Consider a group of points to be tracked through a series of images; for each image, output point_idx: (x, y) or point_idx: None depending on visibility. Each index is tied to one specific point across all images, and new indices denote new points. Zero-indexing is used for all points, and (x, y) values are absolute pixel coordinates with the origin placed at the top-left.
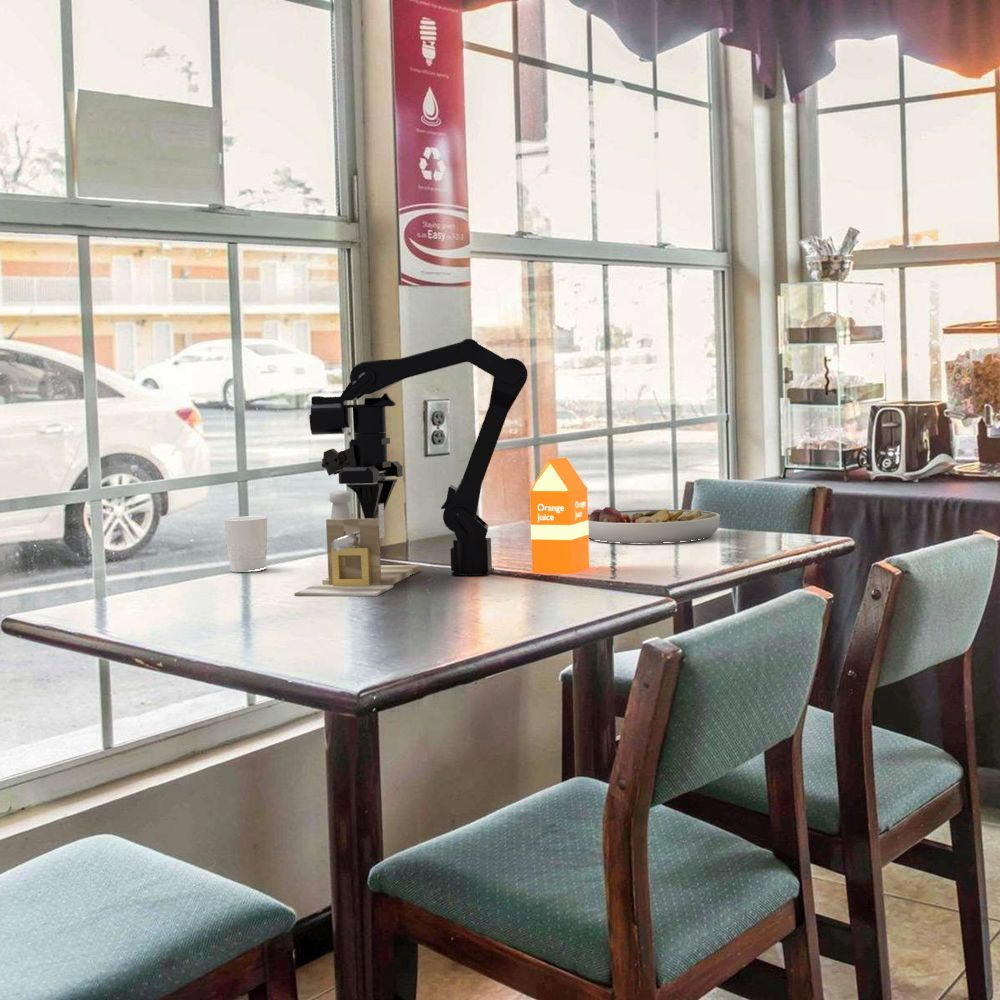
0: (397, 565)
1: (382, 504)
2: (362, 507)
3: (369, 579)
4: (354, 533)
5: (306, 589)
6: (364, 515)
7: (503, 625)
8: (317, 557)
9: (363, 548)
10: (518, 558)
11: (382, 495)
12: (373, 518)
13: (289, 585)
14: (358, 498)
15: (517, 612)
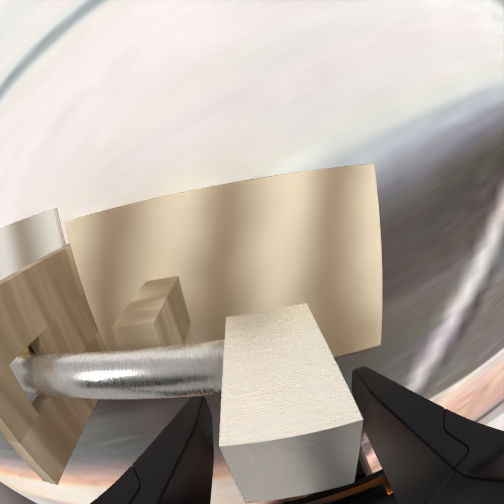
0: (380, 291)
1: (328, 485)
2: (145, 456)
3: None
4: (28, 388)
5: (5, 233)
6: (172, 421)
7: (26, 486)
8: (500, 13)
9: (37, 395)
10: (487, 397)
11: (408, 497)
12: (210, 434)
13: (68, 120)
14: (102, 495)
15: (66, 499)
